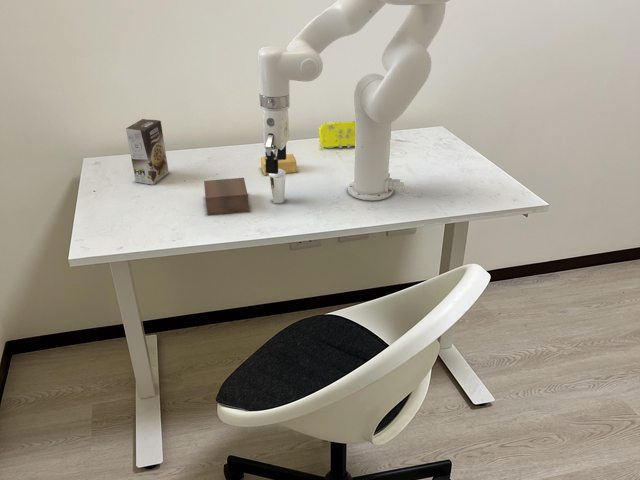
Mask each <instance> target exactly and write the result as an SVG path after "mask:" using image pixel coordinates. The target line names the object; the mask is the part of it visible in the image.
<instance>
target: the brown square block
mask: <svg viewBox="0 0 640 480" xmlns="http://www.w3.org/2000/svg"><path fill="white" fill-rule="evenodd" d="M203 183H204V184H203V185H204V198H205V205H206V212H207V213H206V214H207V216H211V215H222V214H224V215H225V214H234V213H246V212H250V207H249V205H250V204H249V194H248V190H247V185H246V181H245V178H244V177H235V178H234V177H233V178H222V179H210V180H208V179H207V180H203Z"/></svg>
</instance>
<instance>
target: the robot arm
mask: <svg viewBox="0 0 640 480" xmlns="http://www.w3.org/2000/svg"><path fill="white" fill-rule="evenodd" d="M447 2H450V0H336V1H335V2H333V4H332V5H330V6H328V7H327V8H326V9H324V10H323V11H322V12H321V13H319V14H318V15H316V16H315V17H314V18H312V19H311V20H310V21H309V22H308V23H307V24H306V25H305V26H304V27H303V28H302V29H301V30H300V31H299V32H298V33H297V34H296V35H295V36H294V38H293V39H292V40H291V41H290V42H289V44H288V45H287V47H286V48H285V47H283V46H277V45H268V46H264V47H260V49H259V50H258V52H257V67H258V68H257V72H258V74H257V75H258V96H259V97H258V100H259V108H260V109H261V110H263V111H262V120H263V121H262V131H263V132H262V133H263V135H262V137H263V139H262V140H263V147H264V148H265V155H264V156H265V161H266V173H271V174H278V159H280V160H285V159H286V154H287V143H288V142H289V140H290V123H289V121H290V120H289V108H290V107H291V106H290V105H291V104H290V101H291V99H290V81H297V82H303V83H304V82H307V83H308V82H312V81H315V80H316V79H318V78H319V77H320V76H321V74H322V72H323V68H324V64H323V63H324V62H323V60H322V58H321V57H322V56H320V54H321V53H322V52H323V51H324V50H325V49H326V48H328V47H329V46H330V45H331V44H333V43H334V42H336V41H337V40H339V39H341V38H344V37H349V36H353V35H355V34H357V33H359V32H360V31H362V29H363V28H364V27H365V26H366V25H367V24H368V23H369V22H370V21H371V20H372V18H373V17H374V16H376V14H377V13H378V12H380V10H381V9H383V8H384V6H385V5H387V4H388V5H392V6H410V9H409V11H408V13H407V15H406V17H405V18H404V20H403V22H402V24H401V25H400V26H399V28H398V30H397V31H396V32H395V33H394V35H393V37H392V38H391V39H390V41H389V43H388V44H387V46H386V47H385V49H384V51H383V53H382V56H381V62H382V66H383V68H384V70H385V71H386V72H387V73H386V74H385V75H384V76H383V75H381V74H379V73H368V74H366V75H364V76H362V77H361V78H360V79H359V80H358V81H357V83H356V85H355V88H354V93H353V107H354V120H355V124H356V127H355V146H354V166H353V167H354V169H353V170H354V171H353V181H352V182H351V183H350V184H349V185H348V187H347V188H348V189H347V190H348V194H349V195H351V196H352V197H354V198H356V199H358V200H363V201H380V200H384V199H388V198H389V197H390V196H392V194H393V193H394V189H397V190H404V187H405V181H401V179H400V178H399V179H398V178H393V177H391V173H390V172H389V171H390V153H391V139H392V123H395V122H396V121H398V119H399V118H400V117H401V116H402V115H403V114H404V113H405V111H406V110H407V108H408V107H409V106H410V105H411V103H412V102H413V101H414V99H415V98H416V96H417V95H418V94H419V93H420V91H421V89H422V88H423V86H424V85H425V84H426V82H427V80H428V78H429V76H430V74H431V70H432V58H431V57H432V56H431V55H430V53H429V51H428V48H429V47H430V45H431V44H432V42H433V40H434V39H435V38H436V36H437V34H438V32H439V31H440V29H441V27H442V25H443V22H444V19H445V14H446V7H447V6H446V5H447Z"/></svg>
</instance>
